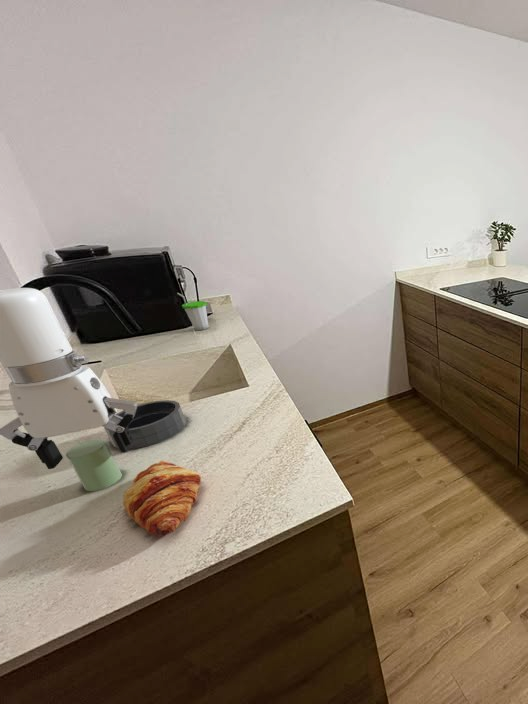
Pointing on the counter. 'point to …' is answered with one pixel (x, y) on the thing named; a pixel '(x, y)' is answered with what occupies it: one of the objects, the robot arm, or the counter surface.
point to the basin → (153, 423)
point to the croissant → (161, 497)
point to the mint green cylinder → (94, 465)
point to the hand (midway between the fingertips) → (92, 455)
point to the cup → (196, 313)
